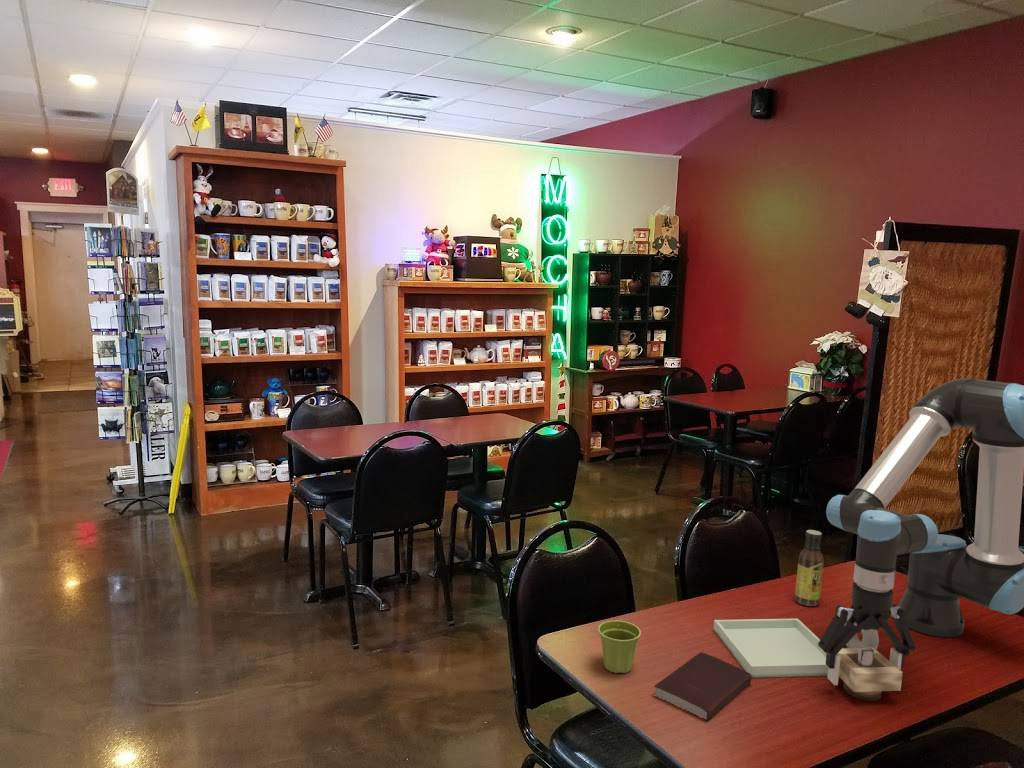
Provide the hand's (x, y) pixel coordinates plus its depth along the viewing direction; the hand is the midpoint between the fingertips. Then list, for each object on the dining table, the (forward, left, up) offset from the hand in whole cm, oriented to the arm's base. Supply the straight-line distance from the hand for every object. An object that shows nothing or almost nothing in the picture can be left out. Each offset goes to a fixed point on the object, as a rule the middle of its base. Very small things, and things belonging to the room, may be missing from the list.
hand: (862, 681), depth 151 cm
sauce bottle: (-10, -42, -2) cm, 43 cm away
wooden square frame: (0, 0, +1) cm, 1 cm away
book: (+34, -2, -3) cm, 34 cm away
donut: (-8, -15, -2) cm, 17 cm away
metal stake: (0, 0, -2) cm, 2 cm away
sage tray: (+11, -17, -2) cm, 20 cm away
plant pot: (+50, -12, -2) cm, 51 cm away
